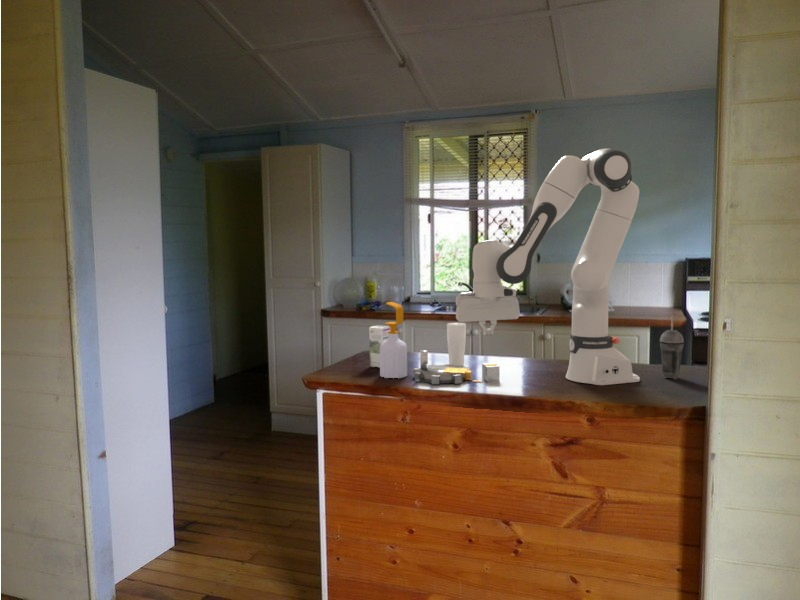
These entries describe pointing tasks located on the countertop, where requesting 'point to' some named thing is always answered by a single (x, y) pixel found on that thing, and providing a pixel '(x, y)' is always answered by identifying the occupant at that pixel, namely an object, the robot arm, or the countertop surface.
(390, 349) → the soap bottle
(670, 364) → the beverage cup
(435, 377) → the sprocket
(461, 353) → the drinking glass
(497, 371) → the marked link
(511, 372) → the countertop surface
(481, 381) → the timing mark
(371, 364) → the syrup box
